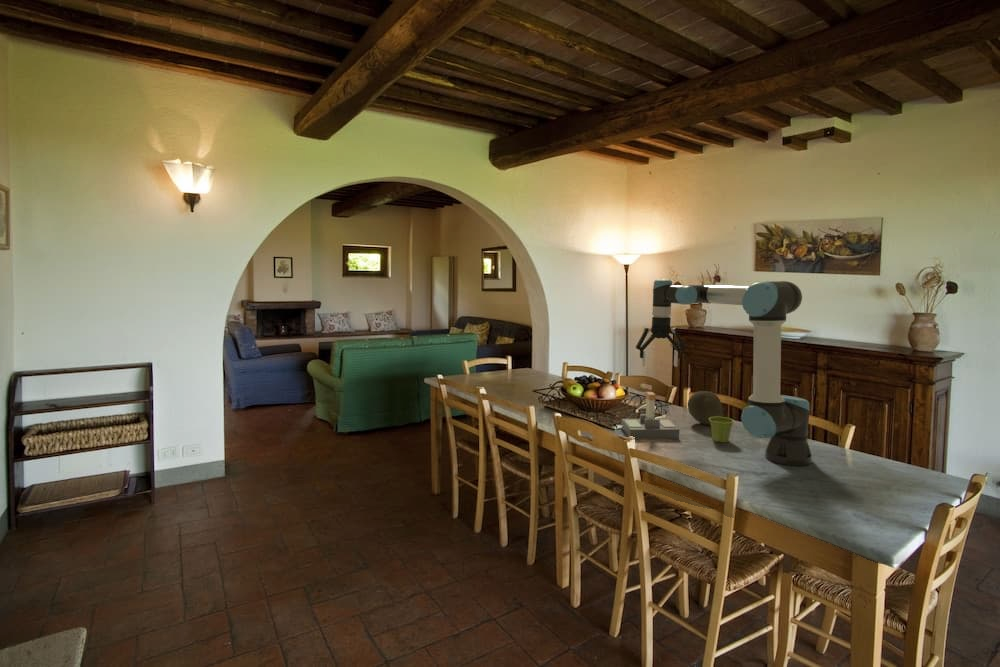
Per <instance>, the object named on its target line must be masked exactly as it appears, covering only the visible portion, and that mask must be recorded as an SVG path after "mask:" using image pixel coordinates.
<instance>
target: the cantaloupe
mask: <svg viewBox="0 0 1000 667" xmlns="http://www.w3.org/2000/svg"><path fill="white" fill-rule="evenodd" d="M687 409H688V412H689V414H690V416H691V417H692V418H693V419H694V420H695V421H697V422H698V423H700V424H703V425H704V426H705V425H707V426H711V424H710V421H709V418H710V417H722V415H723V404H722V402H721V399H720V397H719V396H718V395H717V394H715V393H714V392H713V391H708V390H706V391H705V390H700V391H697V392H694V393H693V394H691V396H690V397H689V399H688V401H687Z"/></svg>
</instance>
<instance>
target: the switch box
mask: <svg viewBox="0 0 1000 667" xmlns="http://www.w3.org/2000/svg"><path fill="white" fill-rule="evenodd" d="M645 418H646V413H645V414H644V413H643V414H640V416H639V418H621V426H622V424H623V426H622V428H621V429H622V431H624V433H625V434H626V436H627V437H628V436H633V437H635V439H634V440H680V432H681V431H680V428H679V427H678V426H677V425H676V424H674V423H673V422H672V421H671V420H670V419H668V418H656V414H654V419H645Z"/></svg>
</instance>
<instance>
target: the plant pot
mask: <svg viewBox="0 0 1000 667" xmlns="http://www.w3.org/2000/svg"><path fill="white" fill-rule="evenodd" d="M709 421H710V424H711V425H710V428H711V429H710V430H711V437H712V441H714V442H716V443H718V442H720V443H728V442H729V441H730V436H731V430H732V427H733V423H734V422H735V421H734V419H732V418H730V417H726V416H721V417H710V418H709Z"/></svg>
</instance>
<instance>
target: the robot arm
mask: <svg viewBox="0 0 1000 667" xmlns="http://www.w3.org/2000/svg"><path fill="white" fill-rule="evenodd" d="M802 300H803V294H802V290H801V289H800V287H799V286H798V285H797V284H795V283H793V282H790V281H786V280H785V281H784V280H783V281H769V280H767V281H766V280H765V281H759V282H754V283H753V284H751V285H732V284H731V285H729V284H687V285H685V284H683V285H680V284H679V285H678V284H677V285H676V284H673V280H672V279H655V280H654V282H653V288H652V313H651V314H652V317H651V328H650V327H644V328H643V333H642V335H640V338H639V339H638V342H637V344H636V345H635V349H637V350H638V351H639V358H640V359H641V366H642V367H646V349H647V347H648V346H649V345H650V344H651V343H652V342H653V340H655V339H667V340H668V342H670V344H671V345H672V347H673V348H674V349H675V350H674V351H673V353H674V354H673V366H674V367H675V368H677V367H678V362H679V361H678V360H679V359H680V358H681V351H683V350H685V349H686V348H685V345H684V342H683V341H682V338H681V336H680V333H679V328H677V327H673V328H672V327H671V320H672V319H671V316H672V304H679V305H683V306H684V305H692V304H716V305H733V306H742V309H743V310H744V311H745V313H746V314H747V315H748V321H749V323H751V324H752V326H753V352H752V353H753V358H752V360H753V365H752V366H753V369H752V370H753V372H752V373H753V376H752V378H753V382H752V384H753V385H752V394H751V395H750V396H748V401H747V402H748V403H747V405H748V406H746V407H744V409H743V410H742V413H741V416H740V420H741V424H742V426H743V427H744V429H745V431H746V432H747V433H748V434H749V435H751V436H752V437H754V438H756V439H769V441H768V443H767V445H766V448H765V451H764V455H765V456H764V457H765V458H766V459H767V460H769V461H771V462H774V463H776V464H781V465H785V466H793V467H794V466H795V467H797V466H798V467H802V466H808V465H810V464H812V459H813V457H812V456H813V455H812V453H811V452H812V451H811V449H810V445H809V442H808V437H809V436H808V434H809V423H810V422H809V421H810V412H811V410H810V402H809V401H808V400H807V399H805V398H802V397H797V396H791V395H785V394H781V378H782V377H781V374H782V373H781V372H782V370H781V369H782V368H781V364H782V362H781V361H782V353H781V352H782V326H783V325H784V323H785V322H786V321H787V315H788V314H790V313H793V312H795V311H796V310H798V308H799V307H800V306H801V304H802ZM671 332H672V333H673V334H674V337H675V339H676V341H677V342H678V344H677V343H676V342H675V340H674V339H673V338H672V337H671V335H670V333H671ZM649 333H652V334H651V335H650V336H649V337H648V338H647V340H646V341H645V339H646V337H647V336H648V334H649ZM644 341H645V342H644Z"/></svg>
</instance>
